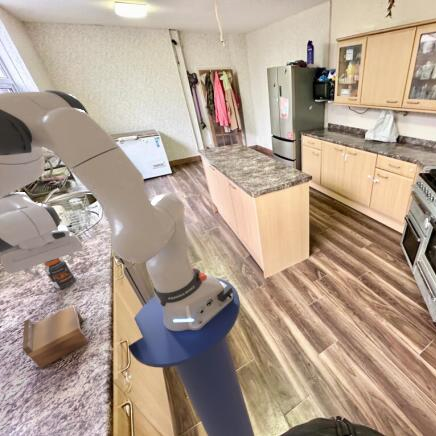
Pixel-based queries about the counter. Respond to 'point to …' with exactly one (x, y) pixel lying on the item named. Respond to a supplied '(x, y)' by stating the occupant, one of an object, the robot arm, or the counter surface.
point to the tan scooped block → (53, 336)
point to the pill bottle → (59, 273)
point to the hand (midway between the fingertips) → (55, 269)
